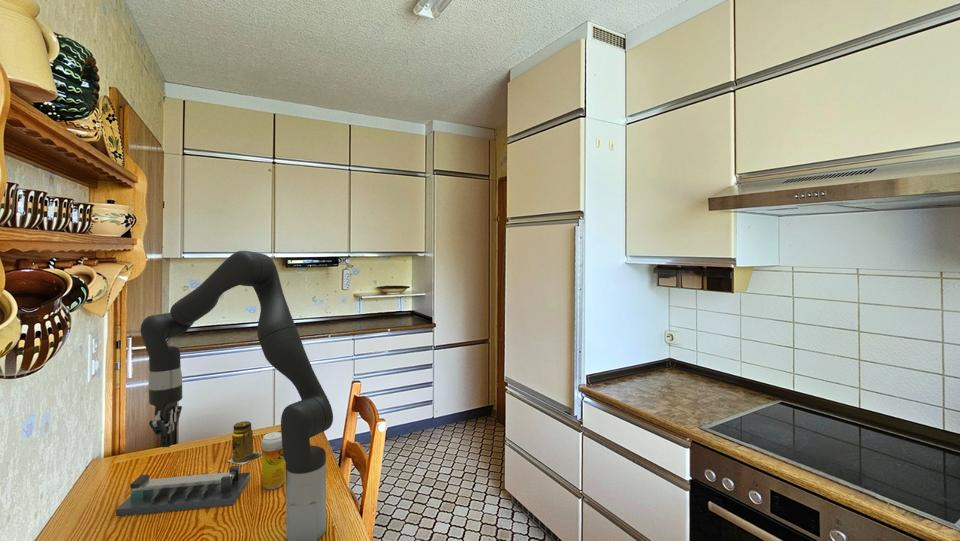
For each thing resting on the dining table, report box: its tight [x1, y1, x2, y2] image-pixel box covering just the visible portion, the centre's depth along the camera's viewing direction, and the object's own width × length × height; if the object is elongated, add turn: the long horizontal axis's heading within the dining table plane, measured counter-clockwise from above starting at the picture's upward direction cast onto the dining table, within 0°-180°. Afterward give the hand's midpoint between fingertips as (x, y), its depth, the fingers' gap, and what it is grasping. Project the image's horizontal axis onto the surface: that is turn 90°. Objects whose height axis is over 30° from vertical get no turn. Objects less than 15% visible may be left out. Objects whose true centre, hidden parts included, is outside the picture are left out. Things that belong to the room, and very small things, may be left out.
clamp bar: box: [130, 471, 236, 492], centre depth 120 cm, size 5×25×2 cm, turn 102°
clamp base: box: [115, 465, 251, 517], centre depth 120 cm, size 14×28×6 cm, turn 102°
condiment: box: [227, 421, 262, 466], centre depth 143 cm, size 7×8×12 cm
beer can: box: [261, 431, 286, 490], centre depth 127 cm, size 6×6×15 cm
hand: (167, 446), depth 119 cm, fingers closed
